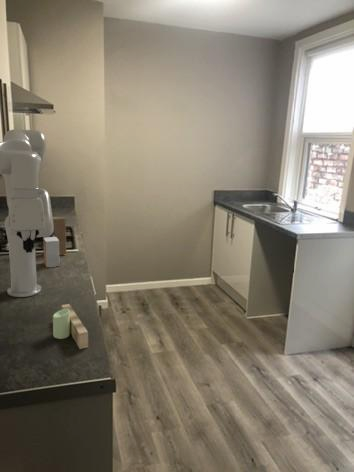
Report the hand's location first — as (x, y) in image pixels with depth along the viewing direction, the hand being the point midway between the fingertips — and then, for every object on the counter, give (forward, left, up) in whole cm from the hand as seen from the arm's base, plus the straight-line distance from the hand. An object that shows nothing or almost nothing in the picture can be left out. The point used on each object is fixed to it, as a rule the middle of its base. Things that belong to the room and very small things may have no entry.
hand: (28, 251), depth 120 cm
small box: (-60, +19, -25) cm, 68 cm away
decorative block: (-76, +24, -25) cm, 84 cm away
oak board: (+11, +11, -25) cm, 30 cm away
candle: (+12, +7, -25) cm, 29 cm away
